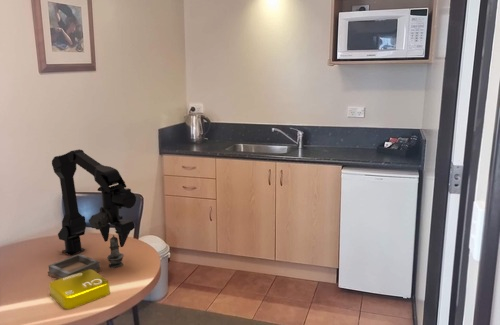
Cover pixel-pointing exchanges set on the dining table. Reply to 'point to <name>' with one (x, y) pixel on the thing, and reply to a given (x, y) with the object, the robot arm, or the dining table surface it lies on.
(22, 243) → the dining table surface
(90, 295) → the element tile
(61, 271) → the socket
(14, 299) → the dining table surface
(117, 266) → the dark grey chess piece
